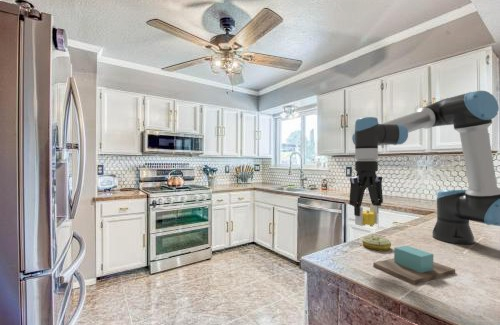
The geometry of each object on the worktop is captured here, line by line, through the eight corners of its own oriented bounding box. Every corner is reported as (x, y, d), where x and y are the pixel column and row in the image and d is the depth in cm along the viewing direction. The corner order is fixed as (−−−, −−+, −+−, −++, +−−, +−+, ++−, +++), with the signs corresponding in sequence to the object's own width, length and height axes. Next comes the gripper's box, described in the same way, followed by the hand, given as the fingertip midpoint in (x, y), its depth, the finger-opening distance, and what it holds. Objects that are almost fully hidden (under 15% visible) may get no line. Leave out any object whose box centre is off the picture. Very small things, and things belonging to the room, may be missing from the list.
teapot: (358, 221, 96) (358, 207, 96) (375, 223, 93) (375, 209, 93) (355, 225, 89) (355, 211, 89) (373, 228, 86) (374, 213, 86)
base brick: (406, 259, 89) (406, 245, 89) (433, 269, 81) (433, 254, 81) (394, 262, 86) (394, 247, 86) (420, 272, 78) (421, 256, 78)
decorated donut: (371, 241, 113) (371, 233, 113) (396, 248, 104) (396, 239, 104) (357, 245, 108) (357, 236, 108) (381, 253, 99) (381, 243, 99)
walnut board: (412, 257, 94) (412, 254, 94) (455, 273, 81) (455, 269, 81) (373, 266, 86) (373, 262, 86) (414, 284, 73) (414, 280, 73)
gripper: (376, 160, 99) (377, 219, 99) (337, 160, 91) (338, 224, 91) (394, 160, 92) (394, 223, 92) (353, 160, 84) (354, 229, 84)
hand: (366, 223), depth 91 cm, fingers closed on teapot, 7 cm apart
